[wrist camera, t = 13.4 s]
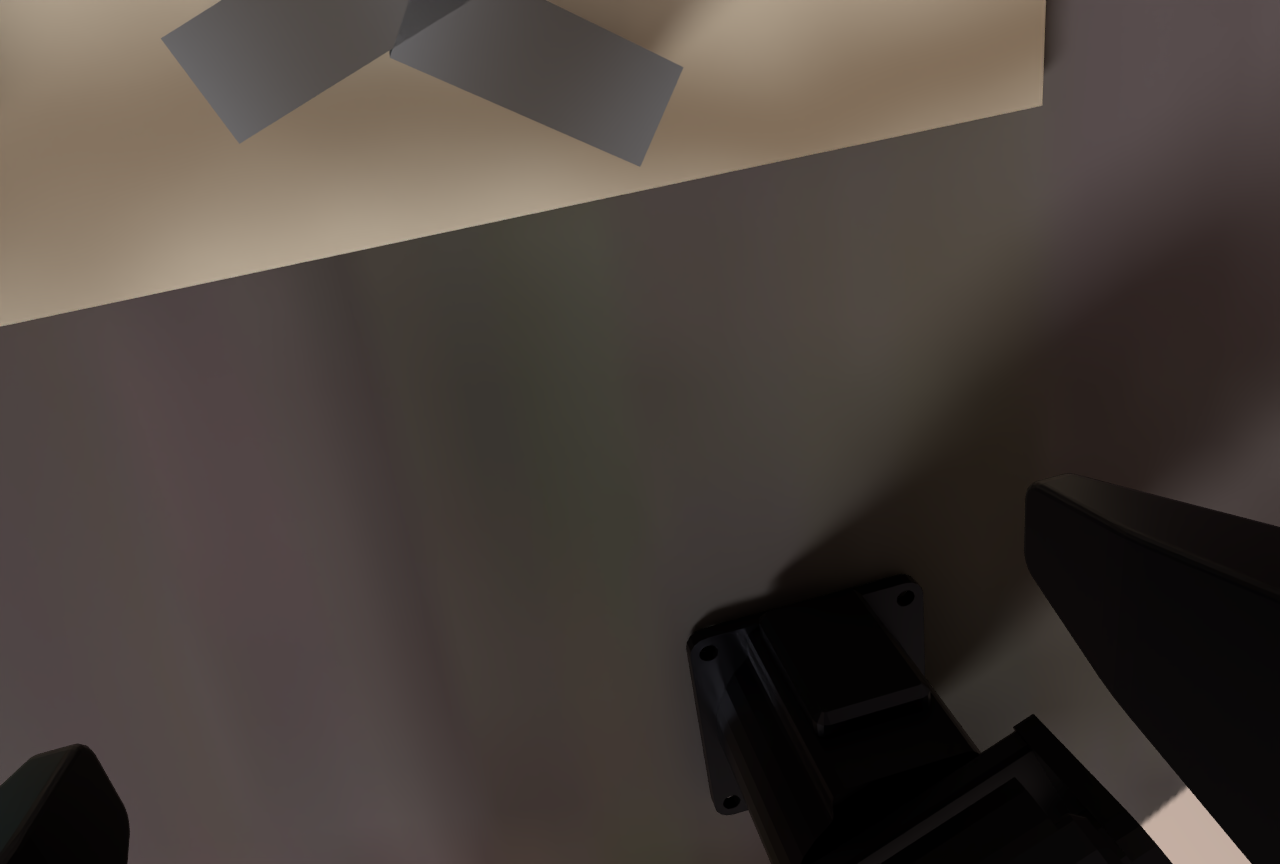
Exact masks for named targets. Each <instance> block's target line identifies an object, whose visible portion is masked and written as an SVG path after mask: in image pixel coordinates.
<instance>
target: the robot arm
mask: <svg viewBox="0 0 1280 864" xmlns="http://www.w3.org/2000/svg"><path fill="white" fill-rule="evenodd" d="M1024 553H1025V560H1026V563H1027V566H1028V569H1029V571H1030V573H1031V575H1032V577H1033V579H1034V580H1035V582H1036V583H1037V585H1038V586H1039V588H1040V589H1041V591H1042V592H1043V594H1044V595H1045V597H1046V598H1047V600H1048V601H1049V603H1050V604H1051V606H1052V607H1053V609H1054V610H1055V612H1056V613H1057V615H1058V616H1059V618H1060V619H1061V621H1062V622H1063V624H1064V625H1065V627H1066V628H1067V630H1068V631H1069V633H1070V634H1071V636H1072V637H1073V639H1074V640H1075V642H1076V643H1077V645H1078V646H1079V648H1080V649H1081V651H1082V652H1083V654H1084V655H1085V657H1086V658H1087V660H1088V661H1089V663H1090V664H1091V666H1092V667H1093V669H1094V670H1095V672H1096V673H1097V675H1098V676H1099V678H1100V679H1101V680H1102V682H1103V683H1104V685H1105V686H1106V687H1107V689H1108V690H1109V692H1110V693H1111V694H1112V696H1113V697H1114V698H1115V700H1116V701H1117V702H1118V703H1119V705H1120V706H1121V707H1122V708H1123V710H1124V711H1125V712H1126V713H1127V715H1128V716H1129V717H1130V718H1131V720H1132V721H1133V722H1134V723H1135V724H1136V726H1137V727H1138V728H1139V729H1140V730H1141V732H1142V733H1143V734H1144V735H1145V736H1146V738H1147V739H1148V740H1149V741H1150V742H1151V744H1152V745H1153V746H1154V747H1155V748H1156V750H1157V751H1158V752H1159V753H1160V754H1161V756H1162V757H1163V758H1164V759H1165V760H1166V762H1167V763H1168V764H1169V765H1170V766H1171V768H1172V769H1173V770H1174V771H1175V772H1176V774H1177V775H1178V776H1179V777H1180V778H1181V780H1182V781H1183V782H1184V783H1185V784H1186V786H1187V787H1188V788H1189V789H1190V790H1191V791H1192V793H1193V794H1194V795H1195V796H1196V798H1197V799H1198V800H1199V801H1200V802H1201V803H1202V805H1203V806H1204V807H1205V808H1206V810H1207V811H1208V812H1209V813H1210V814H1211V816H1212V817H1213V818H1214V819H1215V820H1216V822H1217V823H1218V824H1219V825H1220V826H1221V828H1222V829H1223V830H1224V831H1225V832H1226V834H1227V835H1228V836H1229V837H1230V838H1231V840H1232V841H1233V842H1234V843H1235V844H1236V846H1237V847H1238V848H1239V849H1240V850H1241V852H1242V853H1243V854H1244V855H1245V856H1246V858H1247V859H1248V860H1249V861H1250V862H1251V863H1252V864H1280V527H1278V526H1274V525H1270V524H1266V523H1262V522H1259V521H1255V520H1251V519H1247V518H1243V517H1239V516H1235V515H1231V514H1227V513H1224V512H1220V511H1216V510H1212V509H1208V508H1204V507H1200V506H1196V505H1192V504H1188V503H1185V502H1181V501H1177V500H1173V499H1169V498H1165V497H1161V496H1157V495H1153V494H1150V493H1146V492H1142V491H1138V490H1134V489H1130V488H1126V487H1122V486H1118V485H1115V484H1111V483H1107V482H1103V481H1099V480H1095V479H1091V478H1087V477H1083V476H1080V475H1076V474H1062V475H1058V476H1055V477H1051V478H1047V479H1044V480H1040V481H1036V482H1034V483H1033V484H1032V485H1030V486H1029V488H1028V490H1027V492H1026V498H1025V536H1024ZM904 591H907V592H906V593H905V594H904V595H903V596H901V597H899V598H897V597H898V596H899V595H900V593H902V592H904ZM708 645H713V646H712V648H711V649H709V650H708V651H705V652H700V651H701V650H702V649H703V648H704V647H706V646H708ZM686 650H687V656H688V662H689V668H690V674H691V680H692V686H693V692H694V698H695V704H696V710H697V716H698V722H699V728H700V734H701V740H702V746H703V752H704V758H705V764H706V770H707V776H708V782H709V788H710V794H711V798H712V801H713V803H714V806H715V808H716V810H717V812H719V813H720V814H722V815H732V814H736V813H740V812H743V811H746V810H749V813H750V815H751V817H752V820H753V822H754V824H755V827H756V829H757V831H758V834H759V836H760V839H761V841H762V843H763V846H764V848H765V850H766V853H767V855H768V857H769V860H770V862H771V864H1172V863H1171V862H1170V860H1169V859H1168V858H1167V857H1166V855H1165V854H1164V853H1163V852H1162V850H1161V849H1160V848H1159V847H1158V845H1157V844H1156V843H1155V842H1154V841H1153V840H1152V839H1151V837H1150V836H1149V835H1148V834H1147V833H1146V832H1145V830H1144V829H1143V828H1142V827H1141V826H1140V825H1139V824H1138V822H1137V821H1136V820H1135V819H1134V818H1133V817H1132V816H1131V815H1130V814H1129V813H1128V812H1127V810H1126V809H1125V808H1124V807H1123V806H1122V805H1121V804H1120V803H1119V802H1118V801H1117V800H1116V799H1115V798H1114V797H1113V796H1112V795H1111V794H1110V793H1109V792H1108V791H1107V790H1106V789H1105V788H1104V787H1103V786H1102V785H1101V783H1100V782H1099V781H1098V780H1097V779H1096V778H1095V777H1094V776H1093V775H1092V774H1091V773H1090V772H1089V771H1088V770H1087V769H1086V768H1085V767H1084V766H1083V765H1082V764H1081V763H1080V762H1079V761H1078V760H1077V759H1076V758H1075V756H1074V755H1073V754H1072V753H1071V752H1070V751H1069V750H1068V749H1067V748H1066V747H1065V746H1064V745H1063V744H1062V743H1061V742H1060V741H1059V740H1058V739H1057V738H1056V737H1055V736H1054V735H1053V734H1052V733H1051V732H1050V731H1049V729H1048V728H1047V727H1046V726H1045V725H1044V724H1043V723H1042V722H1041V721H1040V720H1039V719H1038V718H1037V717H1036V716H1035V715H1034V714H1032V715H1031V716H1029V717H1028V718H1026V719H1025V720H1023V721H1021V722H1020V723H1018V724H1017V725H1015V726H1014V727H1013V728H1014V730H1015V731H1014V732H1013V733H1011V734H1010V735H1008V736H1007V737H1005V738H1003V739H1002V740H1000V741H999V742H997V743H996V744H994V745H993V746H991V747H990V748H988V749H987V750H985V751H983V752H982V753H981V752H980V751H979V749H978V748H977V746H976V745H975V744H974V742H973V741H972V740H971V738H970V737H969V736H968V734H967V733H966V732H965V730H964V729H963V728H962V726H961V725H960V724H959V722H958V721H957V720H956V718H955V717H954V716H953V714H952V713H951V711H950V710H949V709H948V707H947V706H946V705H945V703H944V702H943V701H942V699H941V698H940V697H939V695H938V694H937V693H936V691H935V690H934V689H933V687H932V686H931V685H930V683H929V682H928V680H927V679H926V678H925V656H924V613H923V592H922V588H921V587H920V586H919V585H918V583H917V582H916V581H915V580H914V579H913V578H912V577H911V576H909V575H906V574H903V575H896V576H893V577H889V578H885V579H882V580H878V581H875V582H871V583H867V584H864V585H860V586H856V587H853V588H849V589H845V590H842V591H838V592H835V593H831V594H827V595H824V596H820V597H816V598H813V599H809V600H806V601H802V602H798V603H795V604H791V605H787V606H784V607H780V608H776V609H773V610H769V611H766V612H762V613H758V614H755V615H751V616H747V617H744V618H740V619H736V620H733V621H729V622H726V623H722V624H718V625H715V626H711V627H707V628H704V629H701V630H699V631H696V632H695V633H694V634H693V635H691V636H690V638H689V640H688V641H687V646H686ZM732 795H733V796H732ZM729 796H731V797H729ZM727 797H729V798H727ZM129 838H130V828H129V820H128V815H127V812H126V809H125V807H124V805H123V803H122V801H121V799H120V797H119V796H118V794H117V792H116V790H115V788H114V787H113V785H112V783H111V781H110V780H109V778H108V776H107V774H106V773H105V771H104V769H103V767H102V766H101V764H100V762H99V760H98V758H97V757H96V755H95V754H94V752H93V751H92V750H91V749H90V748H89V747H88V746H86V745H82V744H73V745H70V746H66V747H62V748H59V749H55V750H51V751H48V752H44V753H40V754H37V755H35V756H33V757H31V758H30V759H29V760H28V761H27V762H25V763H24V764H23V765H22V766H21V767H20V768H19V769H18V770H17V771H16V772H15V773H14V774H13V775H11V776H10V777H9V778H8V779H7V780H6V781H5V782H4V783H3V784H2V785H1V786H0V864H127V862H128V850H129Z"/></svg>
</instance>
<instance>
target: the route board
mask: <svg viewBox="0 0 1280 864" xmlns="http://www.w3.org/2000/svg"><path fill="white" fill-rule="evenodd" d="M1045 12H1046V0H0V326H5V325H10V324H15V323H19V322H24V321H29V320H33V319H38V318H43V317H48V316H52V315H57V314H62V313H66V312H71V311H76V310H81V309H85V308H90V307H95V306H99V305H104V304H109V303H114V302H118V301H123V300H128V299H132V298H137V297H142V296H147V295H151V294H156V293H161V292H165V291H170V290H175V289H180V288H184V287H189V286H194V285H198V284H203V283H208V282H213V281H217V280H222V279H227V278H231V277H236V276H241V275H246V274H250V273H255V272H260V271H265V270H269V269H274V268H279V267H283V266H288V265H293V264H298V263H302V262H307V261H312V260H316V259H321V258H326V257H331V256H335V255H340V254H345V253H349V252H354V251H359V250H364V249H368V248H373V247H378V246H382V245H387V244H392V243H397V242H401V241H406V240H411V239H415V238H420V237H425V236H430V235H434V234H439V233H444V232H448V231H453V230H458V229H463V228H467V227H472V226H477V225H481V224H486V223H491V222H496V221H500V220H505V219H510V218H514V217H519V216H524V215H529V214H533V213H538V212H543V211H548V210H552V209H557V208H562V207H566V206H571V205H576V204H581V203H585V202H590V201H595V200H599V199H604V198H609V197H614V196H618V195H623V194H628V193H632V192H637V191H642V190H647V189H651V188H656V187H661V186H665V185H670V184H675V183H680V182H684V181H689V180H694V179H698V178H703V177H708V176H713V175H717V174H722V173H727V172H731V171H736V170H741V169H746V168H750V167H755V166H760V165H764V164H769V163H774V162H779V161H783V160H788V159H793V158H797V157H802V156H807V155H812V154H816V153H821V152H826V151H831V150H835V149H840V148H845V147H849V146H854V145H859V144H864V143H868V142H873V141H878V140H882V139H887V138H892V137H897V136H901V135H906V134H911V133H915V132H920V131H925V130H930V129H934V128H939V127H944V126H948V125H953V124H958V123H963V122H967V121H972V120H977V119H981V118H986V117H991V116H996V115H1000V114H1005V113H1010V112H1014V111H1019V110H1024V109H1029V108H1033V107H1038V106H1042V96H1043V68H1044V40H1045Z"/></svg>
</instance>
